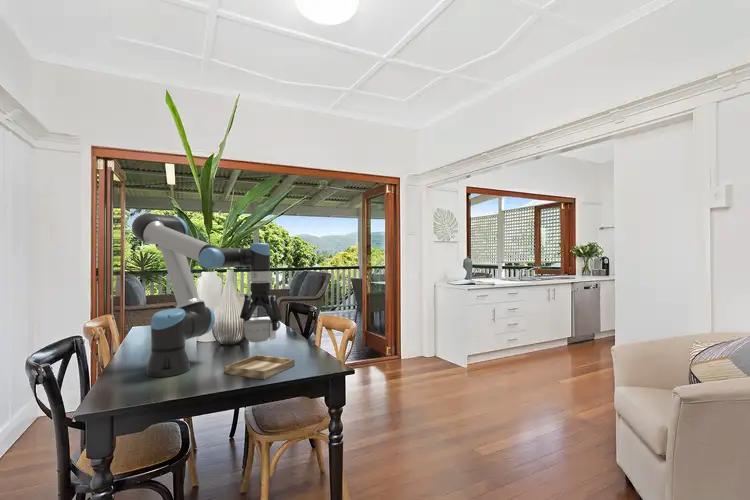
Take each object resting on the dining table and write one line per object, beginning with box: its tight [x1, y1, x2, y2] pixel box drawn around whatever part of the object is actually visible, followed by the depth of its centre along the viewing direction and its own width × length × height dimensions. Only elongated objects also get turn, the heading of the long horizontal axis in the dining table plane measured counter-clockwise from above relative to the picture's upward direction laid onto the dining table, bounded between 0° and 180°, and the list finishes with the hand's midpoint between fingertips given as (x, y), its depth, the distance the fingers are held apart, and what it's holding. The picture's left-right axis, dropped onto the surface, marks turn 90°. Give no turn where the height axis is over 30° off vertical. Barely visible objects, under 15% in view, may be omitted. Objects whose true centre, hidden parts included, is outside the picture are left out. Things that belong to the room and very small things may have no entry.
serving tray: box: [223, 354, 296, 380], centre depth 158 cm, size 19×19×2 cm
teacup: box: [243, 318, 281, 343], centre depth 158 cm, size 14×11×8 cm
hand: (260, 337), depth 158 cm, fingers closed on teacup, 11 cm apart
